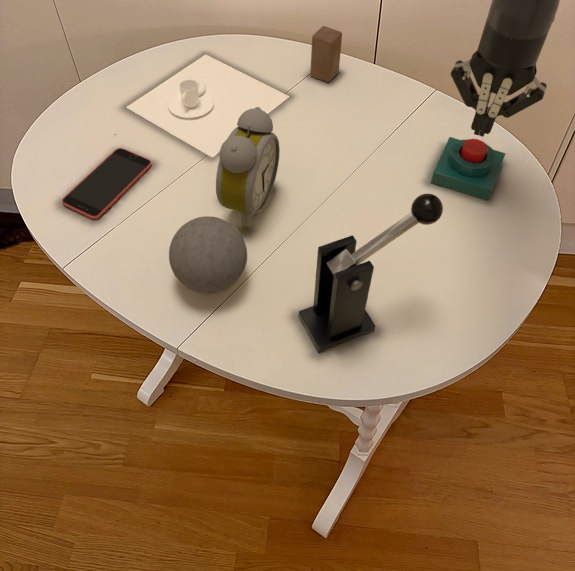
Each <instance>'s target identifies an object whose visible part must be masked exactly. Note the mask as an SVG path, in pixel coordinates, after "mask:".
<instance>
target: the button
mask: <svg viewBox="0 0 575 571" xmlns="http://www.w3.org/2000/svg"><path fill="white" fill-rule="evenodd" d="M465 140H466V141H465V142H464V144H463V147H462V150H461V157H462V158H463V159H464V160H465V161H468V162H471V163H480V162H482V161H483V160H484V158H485V155H486V153H487V150H488V147H487V145H488V144H487V143H486V142H484V141H483V140H481V139H478V138H469V140H467V139H465ZM485 143H486V144H487V145H486V144H485Z"/></svg>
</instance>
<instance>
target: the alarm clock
mask: <svg viewBox="0 0 575 571" xmlns="http://www.w3.org/2000/svg"><path fill="white" fill-rule="evenodd" d="M237 125H238V126H239V127H236V128H235V129H234V130H233V131H232V132H231V134H230V135H229V137H228V139H227V140H226V141H225V142H224V143H223V144H222V146H221V149H220V152H219V159H218V163H217V170H216V177H215V194H216V199H217V200H218V203H219V204H220V205H221V206H222V207H224V208H225V209H228V210H233V211H236V212H239V213H240V218H241V225H242V227H241V228H242V232H244V233H247V232H248V230H249V227H250V222H251V219H252V215H253V216H255V215H257V214H259V213H260V212H262V211H263V210H264V209H265V206H266V205H267V203H268V201H269V198H270V197H271V195H272V191H273V188H274V186H275V182H276V180H277V175H278V174H277V173H278V169H279V161H280V154H281V153H280V151H281V150H280V149H281V148H280V140H279V138H278V136H277V135H276V133H274V132H273V130H274V123H273V120H272V118H271V116H270V114H267V113H266V112H265V111H263V110H261V108H260V107H256V108H255V109H249V110H247V111H245V112H244V113H242V114H241V116H240V117H239V119H238V122H237Z"/></svg>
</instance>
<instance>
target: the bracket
mask: <svg viewBox="0 0 575 571" xmlns="http://www.w3.org/2000/svg"><path fill="white" fill-rule="evenodd" d="M356 248H357V239H356V237H355V236H354V235H349V236H346V237H343V238H340V239H338V240H335V241H331V242H329V243H326V244H323V245H320V246H318V247H317V256H316V271H315V282H314V293H313V294H314V295H313V305H311V306H309V307H306V308H304V309H301V310H298V318H299V320H300V322H301V323H302V326H303V327H304V329H305V331H306V332H307V335H308V336H309V338H310V340H311V342H312V343H313V346H314V347H315V349H316V351H317V353H322V352H324V351H327V350H330V349H332V348H334V347H337V346H340V345H342V344H345V343H348V342H350V341H352V340H355V339H357V338H360V337H363V336H365V335H368V334H370V333H372V332H375V330H376V324H375V323H374V321H373V319H372V317H371V316H370V315H369V313H368V311H367V309H366V307H367V302H368V298H369V293H370V288H371V283H372V278H373V274H374V270H375V266H374V265H373V263H372V261H371V260H367V261H363V262H361V263H360V264H359V265H356V266H353V267H350V268H348V269H345V270H342V271H339V272H336V273H334V275H333V273H332V272H331V270H330V268H329V267H328V265H327V262H328V261H329V260H331V259H332V258H334V257H335V256H337V255H338V254H339V253H341V252H342V251H344V250H345V249H347V250H348V251H349V252H350V253H351V254H352V253H354V252H355V251H356V250H357V249H356Z"/></svg>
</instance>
